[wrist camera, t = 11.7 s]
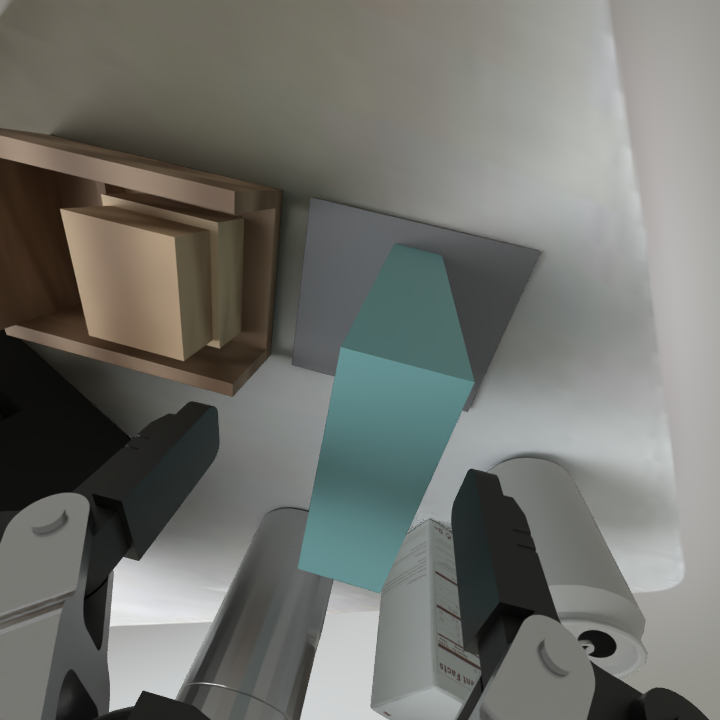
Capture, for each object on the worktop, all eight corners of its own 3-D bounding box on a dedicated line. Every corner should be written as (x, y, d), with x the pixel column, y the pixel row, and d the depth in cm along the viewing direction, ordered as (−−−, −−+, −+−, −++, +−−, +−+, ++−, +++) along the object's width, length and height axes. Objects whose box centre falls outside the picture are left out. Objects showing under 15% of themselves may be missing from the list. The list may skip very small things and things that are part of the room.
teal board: (441, 255, 20) (474, 382, 7) (403, 376, 25) (380, 593, 12) (394, 243, 20) (340, 347, 7) (364, 366, 25) (297, 568, 12)
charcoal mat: (537, 250, 20) (541, 252, 19) (466, 407, 26) (467, 411, 25) (313, 197, 20) (310, 197, 20) (294, 361, 26) (291, 364, 26)
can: (579, 505, 28) (671, 694, 18) (490, 518, 31) (524, 690, 20) (562, 440, 26) (658, 617, 15) (465, 460, 28) (490, 624, 18)
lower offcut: (244, 218, 21) (218, 222, 18) (241, 331, 25) (219, 348, 22) (140, 192, 21) (100, 194, 19) (154, 308, 25) (122, 322, 22)
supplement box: (437, 580, 36) (442, 750, 25) (384, 546, 35) (365, 710, 24) (487, 553, 33) (519, 737, 22) (430, 515, 32) (433, 689, 21)
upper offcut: (209, 230, 18) (174, 237, 16) (212, 340, 22) (183, 361, 19) (110, 205, 19) (59, 208, 16) (128, 317, 22) (89, 335, 20)
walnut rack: (282, 190, 21) (223, 191, 14) (270, 355, 26) (224, 405, 20) (48, 134, 21) (-101, 114, 15) (86, 306, 27) (-11, 340, 21)
